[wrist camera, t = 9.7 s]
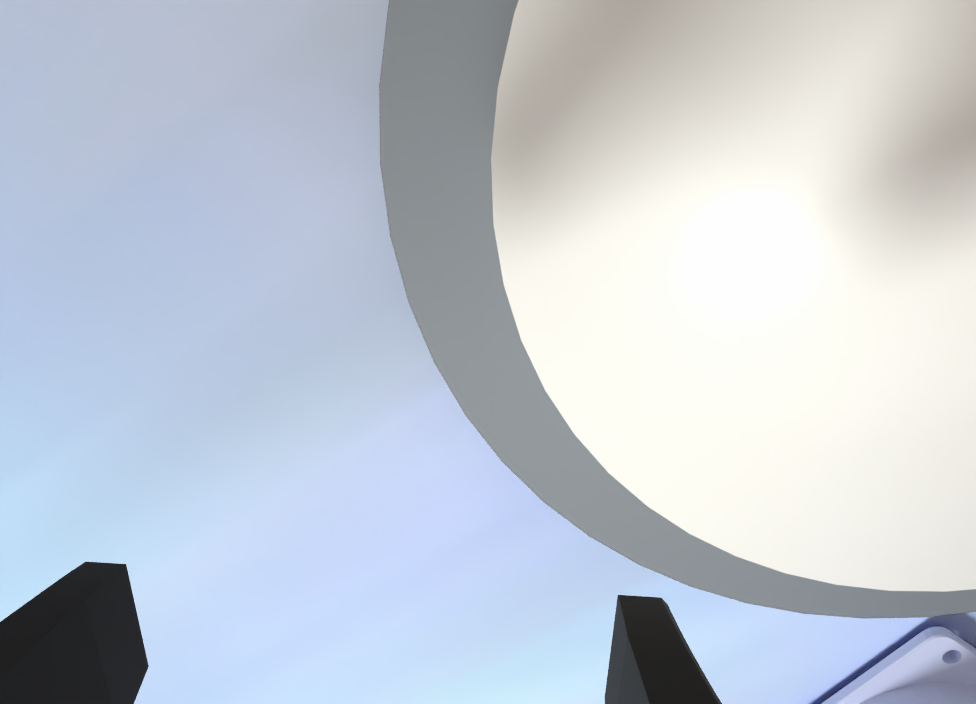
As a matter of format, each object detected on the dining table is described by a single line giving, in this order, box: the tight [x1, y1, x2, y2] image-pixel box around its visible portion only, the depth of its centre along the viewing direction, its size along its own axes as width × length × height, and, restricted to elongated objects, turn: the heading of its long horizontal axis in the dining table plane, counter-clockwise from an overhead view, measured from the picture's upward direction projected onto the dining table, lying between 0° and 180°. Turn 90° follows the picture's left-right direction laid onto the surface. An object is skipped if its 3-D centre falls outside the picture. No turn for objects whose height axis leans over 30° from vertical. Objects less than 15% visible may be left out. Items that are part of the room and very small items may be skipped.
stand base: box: [379, 0, 976, 618], centre depth 16 cm, size 25×25×1 cm
